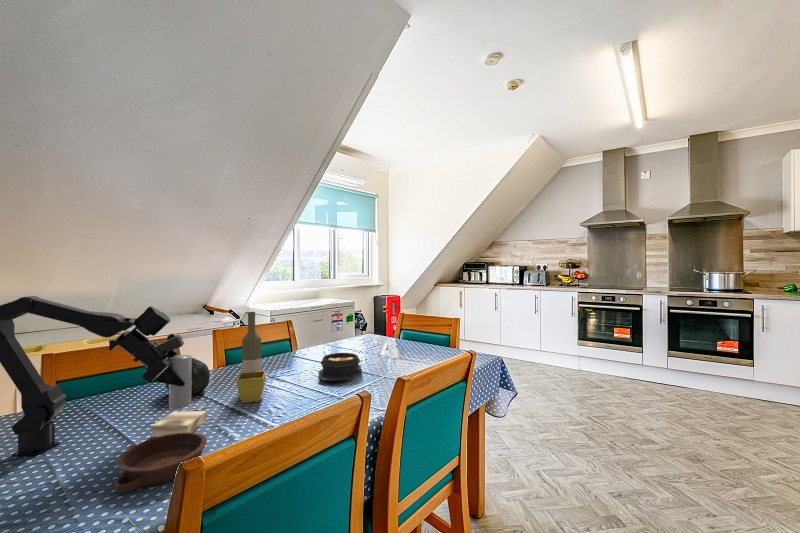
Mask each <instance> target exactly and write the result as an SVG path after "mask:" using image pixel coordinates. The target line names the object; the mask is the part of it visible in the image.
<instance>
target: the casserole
mask: <svg viewBox="0 0 800 533" xmlns="http://www.w3.org/2000/svg"><path fill="white" fill-rule="evenodd" d="M360 362H361V359H360V358H359V356H358V354H356V353H351V352H334V353H329V354H326V355H324V356H323V357H322V360H321V361H320V365H321V367H322V369H320V370H319V371H318V377H317V379H318V380H321V381H325V382H326V381H327V382H341V381H344V380H347V379H350V378H353V377H356V376H359V375H361V374H362V373H363V370H362V366H361V365H360Z"/></svg>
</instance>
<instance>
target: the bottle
mask: <svg viewBox="0 0 800 533" xmlns="http://www.w3.org/2000/svg"><path fill="white" fill-rule="evenodd" d="M241 357H242V358H241V360H242V362H241V364H242V366H241V367H242V373H246V372H258V371H262V337H261V335H259V334H258V333H257V332H256V312H255V311H248V312H247V332H246V334H245V335H244V336H243V337H242V340H241Z"/></svg>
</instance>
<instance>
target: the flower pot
mask: <svg viewBox="0 0 800 533" xmlns="http://www.w3.org/2000/svg"><path fill="white" fill-rule="evenodd" d="M265 383H266V370H261V371H258V372H246V373H243V372H240V373H239V374H238V377H237V378H236V387H237V393H238V396H239V399H240V400H241V402H242V403H244V404H248V403H255V402H256V403H257V402H260V400H261V398H262V396H263V392H264V389H265V385H266V384H265Z"/></svg>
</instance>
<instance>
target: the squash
mask: <svg viewBox="0 0 800 533" xmlns="http://www.w3.org/2000/svg"><path fill="white" fill-rule="evenodd" d="M210 377H211V374H210V369H209V367H208V366H207V364H206V363H205V362H203V361H201V360H198V359H197V358H195V357H192V363H191V395H193V396H194V395H197V394H198V393H202V392H203V391H204V390H206V388H208V385H209V383H210ZM164 385H165V387H166V390H168V391H169V384H166V383H164Z"/></svg>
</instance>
